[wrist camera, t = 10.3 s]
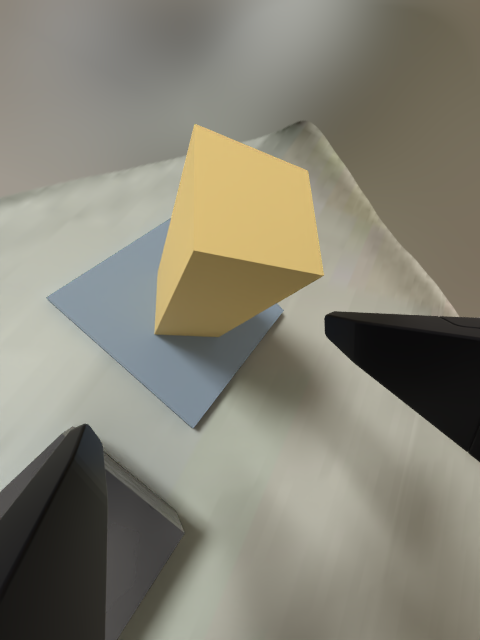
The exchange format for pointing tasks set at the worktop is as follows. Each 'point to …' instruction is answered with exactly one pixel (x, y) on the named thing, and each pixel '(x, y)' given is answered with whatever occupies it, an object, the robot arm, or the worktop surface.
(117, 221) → the worktop surface
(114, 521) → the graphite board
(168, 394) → the slate mat
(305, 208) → the mustard block
